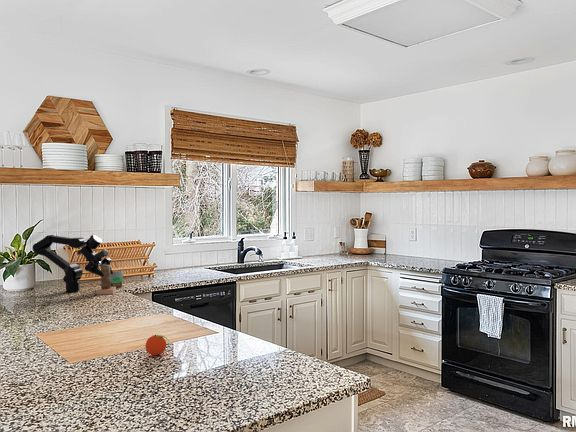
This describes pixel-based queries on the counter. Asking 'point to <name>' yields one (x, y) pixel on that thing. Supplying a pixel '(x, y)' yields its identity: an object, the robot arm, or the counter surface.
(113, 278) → the food container
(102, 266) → the walnut cylinder
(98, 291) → the terracotta base
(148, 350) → the tomato
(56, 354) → the counter surface
